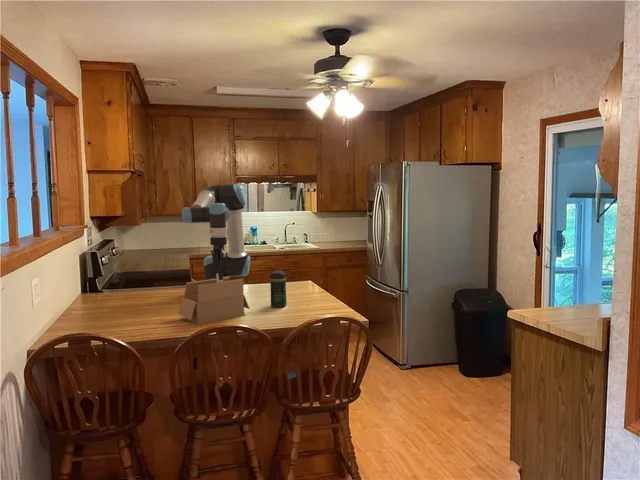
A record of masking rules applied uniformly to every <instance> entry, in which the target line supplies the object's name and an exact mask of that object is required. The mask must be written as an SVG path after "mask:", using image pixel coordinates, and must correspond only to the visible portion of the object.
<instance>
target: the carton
mask: <svg viewBox="0 0 640 480" xmlns="http://www.w3.org/2000/svg"><path fill="white" fill-rule="evenodd" d="M245 309H248V310H250V306H249V304H248V300H247V298H246V295H245V294H244V293H243V295H239V296H233V297H228V298H222V299H216V300H210V301H204V302H198V294H197V295H191V296H184V297H182V299H181V301H180V306H179V309H178V313H177V314H178V315H180V316H182V317H184V318H185V320H188V321H190V322H192V323H194V324H196V325H198V326H199V325H203V324H208V323H214V322H218V321H224V320H228V319H235V318H238V317H244V316H245Z"/></svg>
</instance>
